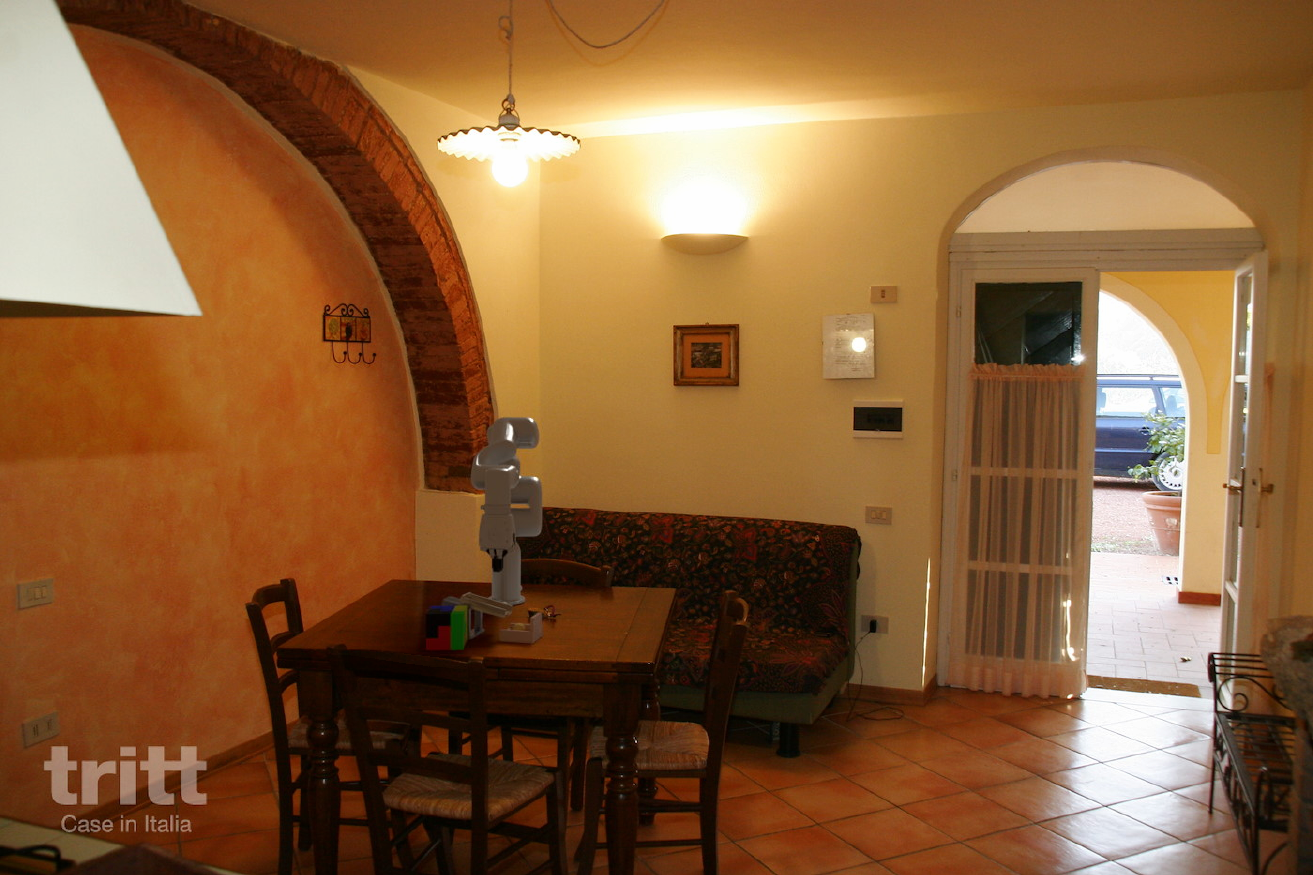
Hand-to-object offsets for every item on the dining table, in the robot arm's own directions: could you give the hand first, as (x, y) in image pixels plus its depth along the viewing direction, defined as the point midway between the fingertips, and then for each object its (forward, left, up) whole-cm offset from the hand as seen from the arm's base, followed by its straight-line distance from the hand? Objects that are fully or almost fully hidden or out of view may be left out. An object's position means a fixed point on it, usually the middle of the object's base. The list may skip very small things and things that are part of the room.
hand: (497, 571), depth 278 cm
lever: (+4, -4, -13) cm, 14 cm away
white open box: (+7, +10, -18) cm, 21 cm away
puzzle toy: (+19, -7, -18) cm, 27 cm away
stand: (+7, -5, -18) cm, 20 cm away
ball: (+7, +9, -15) cm, 19 cm away
